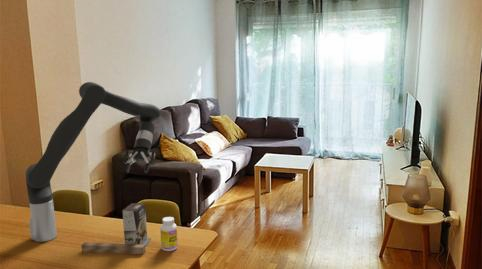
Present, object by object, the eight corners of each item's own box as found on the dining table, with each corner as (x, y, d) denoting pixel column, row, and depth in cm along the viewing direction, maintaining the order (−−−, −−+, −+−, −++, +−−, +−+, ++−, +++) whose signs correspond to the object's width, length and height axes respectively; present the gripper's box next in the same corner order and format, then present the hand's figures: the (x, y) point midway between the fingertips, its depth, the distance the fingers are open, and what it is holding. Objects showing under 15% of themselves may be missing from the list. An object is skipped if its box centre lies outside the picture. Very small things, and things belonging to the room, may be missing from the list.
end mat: (121, 249, 163) (121, 248, 163) (130, 238, 173) (130, 237, 173) (142, 250, 162) (142, 249, 162) (150, 239, 172) (150, 238, 172)
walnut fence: (82, 251, 162) (81, 245, 161) (84, 249, 164) (84, 242, 164) (143, 254, 159) (142, 247, 158) (145, 251, 161) (145, 244, 161)
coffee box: (138, 248, 163) (136, 211, 160) (124, 247, 164) (121, 210, 161) (148, 238, 172) (145, 203, 169) (134, 237, 173) (131, 202, 170)
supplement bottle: (169, 253, 159) (168, 223, 157) (158, 249, 163) (156, 219, 161) (181, 246, 165) (179, 217, 162) (169, 242, 169) (168, 214, 166)
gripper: (126, 137, 187) (118, 167, 178) (156, 137, 185) (149, 168, 176) (131, 145, 193) (124, 175, 184) (160, 146, 191) (153, 175, 183)
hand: (136, 171), depth 180 cm, fingers open, 8 cm apart
